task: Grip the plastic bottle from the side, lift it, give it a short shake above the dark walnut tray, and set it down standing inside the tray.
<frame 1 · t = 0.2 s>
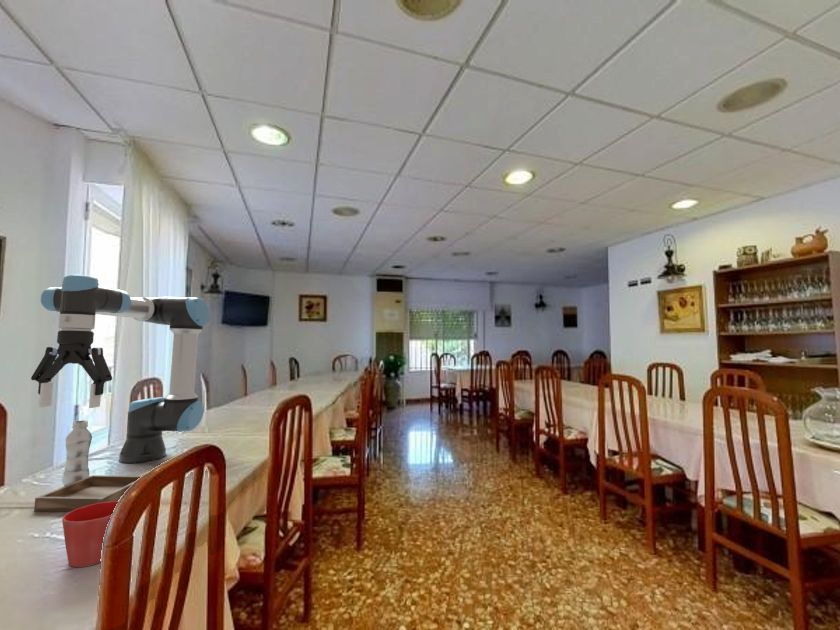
hand: (69, 407, 104), 28 cm above the table, tool pointing down, fingers open, 13 cm apart
flower pot: (92, 558, 81), on the table
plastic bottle: (75, 485, 121), on the table
walnut tray: (95, 498, 111), on the table
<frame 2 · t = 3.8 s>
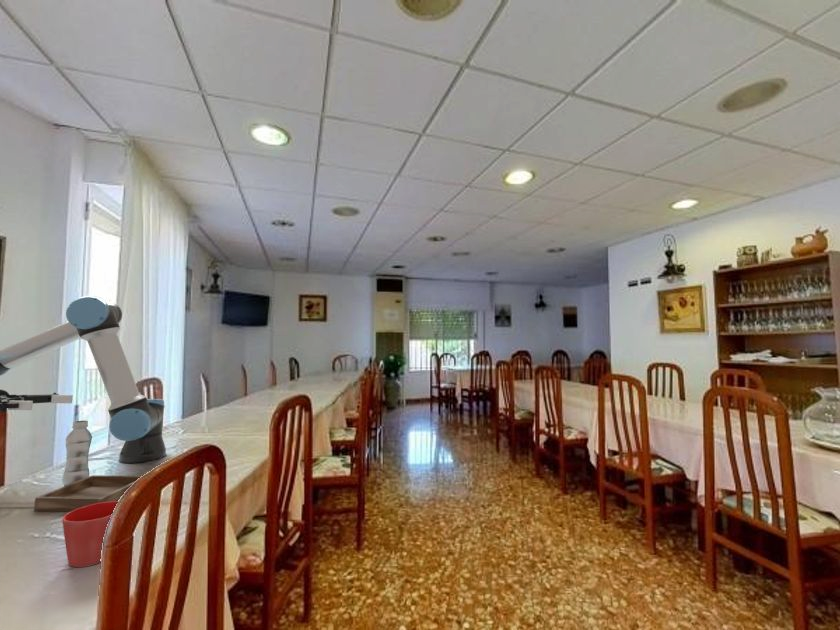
hand: (52, 402, 123), 26 cm above the table, tool horizontal, fingers open, 13 cm apart
nothing on the table moved.
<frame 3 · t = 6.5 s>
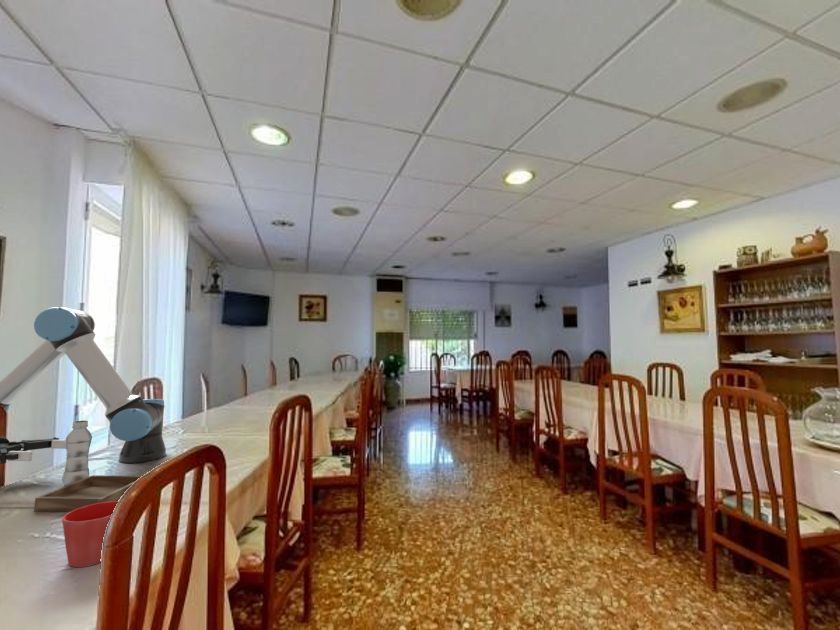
hand: (52, 449, 122), 11 cm above the table, tool horizontal, fingers open, 13 cm apart
nothing on the table moved.
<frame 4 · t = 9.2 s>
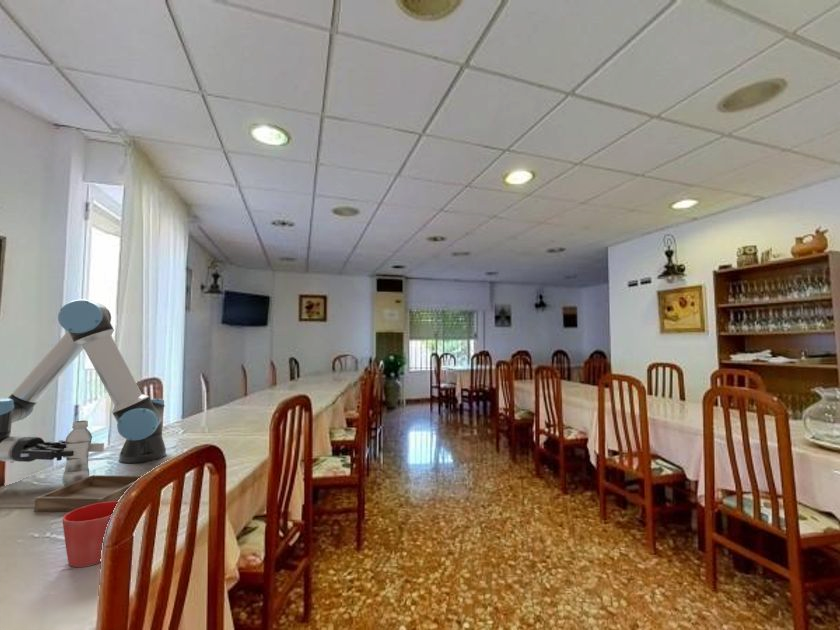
hand: (94, 450, 122), 11 cm above the table, tool horizontal, fingers closed on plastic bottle, 6 cm apart
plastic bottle: (75, 485, 121), on the table, touching gripper
everything else where it was.
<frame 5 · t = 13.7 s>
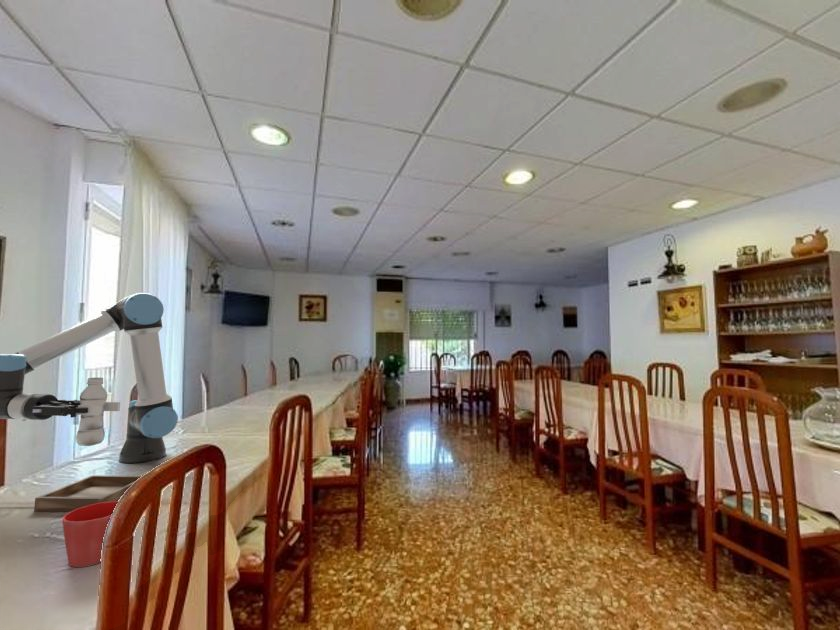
hand: (109, 408, 114), 26 cm above the table, tool horizontal, fingers closed on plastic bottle, 6 cm apart
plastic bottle: (89, 446, 113), point 15 cm above the table, touching gripper
everything else where it was.
when the fingers open (13 cm above the table, at t = 18.1 s): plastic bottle stays where it is, resting on walnut tray.
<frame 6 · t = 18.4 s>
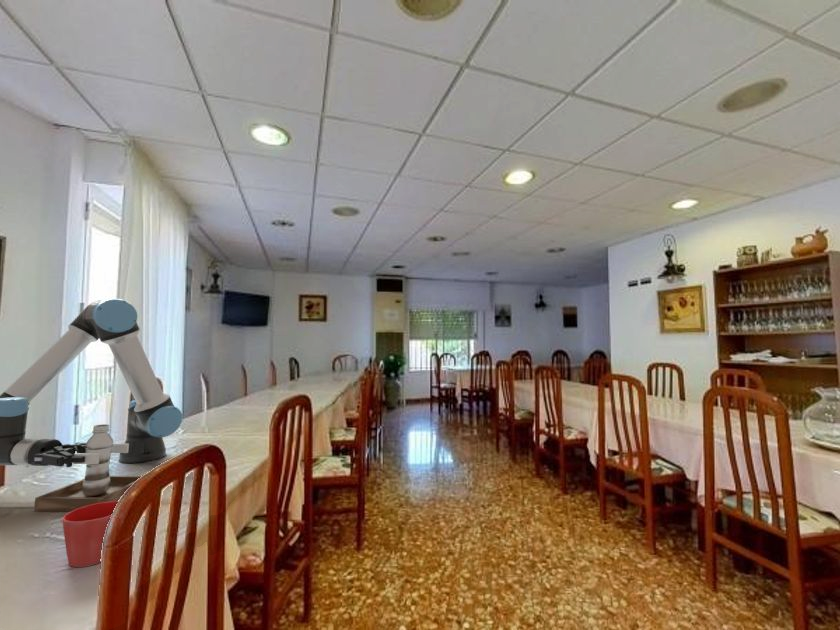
hand: (113, 453, 112), 13 cm above the table, tool horizontal, fingers open, 10 cm apart
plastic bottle: (95, 495, 111), point 1 cm above the table, touching walnut tray
everything else where it was.
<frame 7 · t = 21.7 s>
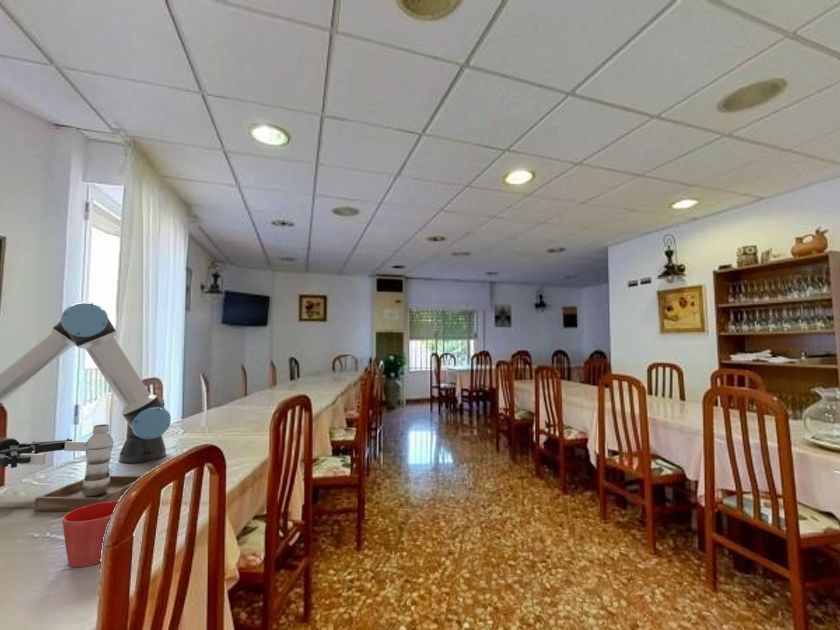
hand: (66, 452, 112), 13 cm above the table, tool horizontal, fingers open, 13 cm apart
nothing on the table moved.
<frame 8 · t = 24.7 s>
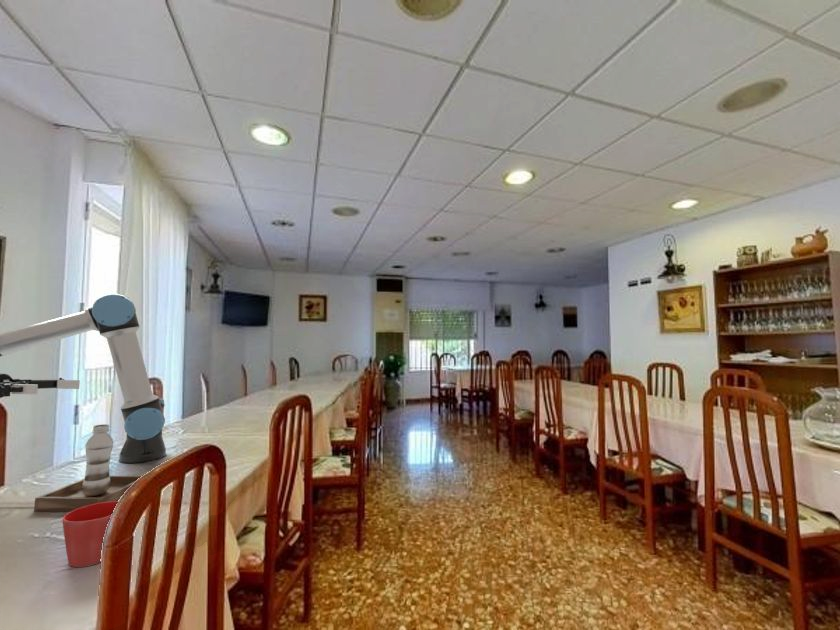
hand: (58, 386, 116), 32 cm above the table, tool horizontal, fingers open, 13 cm apart
nothing on the table moved.
at the end: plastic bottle inside the target area on the walnut tray (0.1 cm from its centre), point 0.8 cm above the walnut tray's base; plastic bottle tilted 0°; the gripper is holding nothing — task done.
